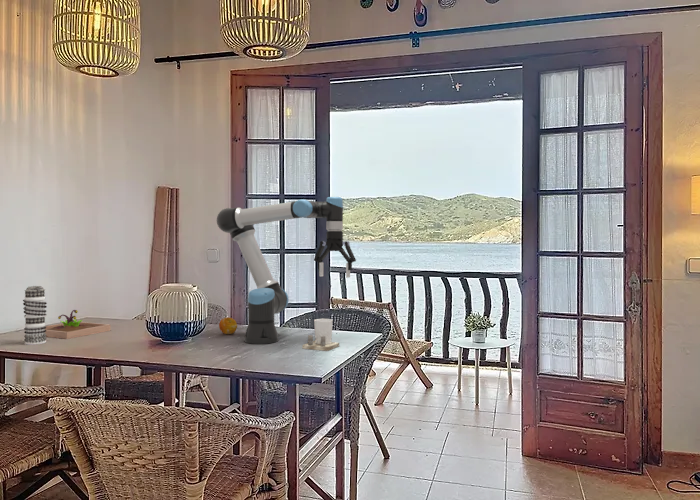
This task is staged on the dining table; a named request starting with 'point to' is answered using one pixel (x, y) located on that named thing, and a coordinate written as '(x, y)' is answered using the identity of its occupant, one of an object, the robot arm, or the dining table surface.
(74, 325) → the plant
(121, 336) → the dining table surface
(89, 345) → the dining table surface
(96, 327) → the planter tray
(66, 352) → the dining table surface
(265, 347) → the dining table surface
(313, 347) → the board
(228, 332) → the fruit
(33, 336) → the decorative candle
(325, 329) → the white cup
